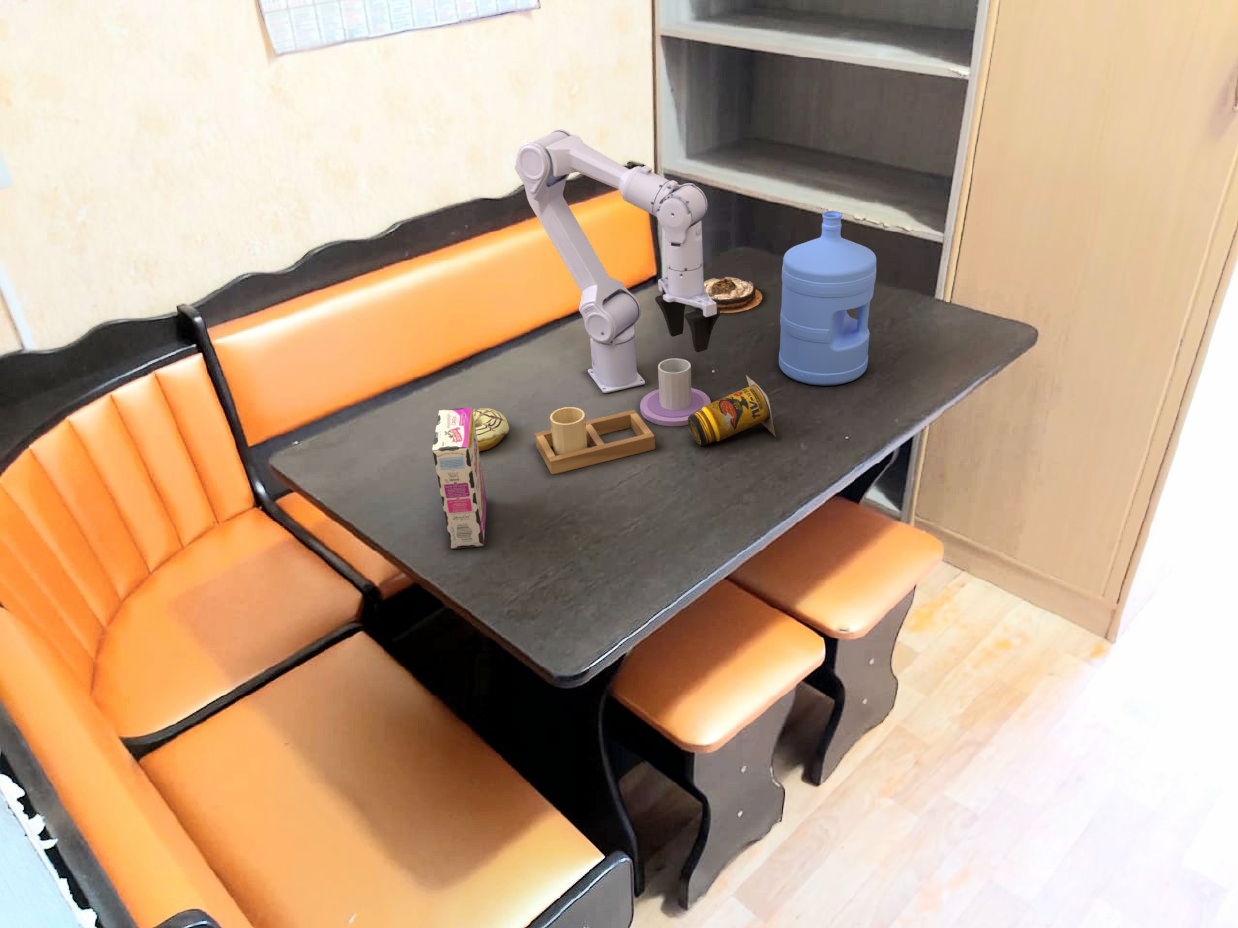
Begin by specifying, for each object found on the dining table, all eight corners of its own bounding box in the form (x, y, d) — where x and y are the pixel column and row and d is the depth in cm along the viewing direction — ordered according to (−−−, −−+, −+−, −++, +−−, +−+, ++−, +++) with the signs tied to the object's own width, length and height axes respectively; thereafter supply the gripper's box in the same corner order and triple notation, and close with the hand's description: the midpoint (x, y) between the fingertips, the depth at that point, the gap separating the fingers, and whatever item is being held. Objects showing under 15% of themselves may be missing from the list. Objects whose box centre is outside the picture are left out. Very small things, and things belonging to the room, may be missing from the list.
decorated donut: (522, 435, 152) (519, 416, 150) (472, 464, 146) (468, 444, 144) (481, 416, 159) (478, 397, 156) (431, 443, 152) (427, 423, 150)
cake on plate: (735, 319, 185) (736, 299, 183) (676, 303, 194) (675, 284, 191) (775, 293, 194) (775, 275, 192) (716, 280, 203) (716, 262, 200)
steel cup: (654, 399, 158) (653, 362, 154) (683, 392, 159) (682, 355, 155) (666, 413, 153) (665, 376, 149) (696, 406, 155) (695, 369, 151)
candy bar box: (486, 547, 128) (468, 447, 119) (450, 550, 128) (429, 451, 119) (489, 500, 137) (472, 405, 128) (455, 504, 137) (436, 408, 128)
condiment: (767, 394, 142) (697, 424, 140) (776, 437, 147) (709, 467, 145) (747, 374, 148) (680, 403, 146) (756, 416, 153) (691, 445, 151)
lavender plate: (630, 400, 160) (629, 394, 159) (693, 385, 163) (693, 379, 162) (655, 432, 150) (655, 426, 150) (722, 416, 153) (722, 410, 153)
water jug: (769, 381, 162) (773, 227, 147) (789, 343, 174) (795, 197, 159) (858, 393, 157) (873, 233, 142) (873, 353, 169) (888, 202, 154)
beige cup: (550, 449, 148) (545, 411, 144) (582, 441, 150) (578, 404, 146) (560, 465, 144) (555, 427, 140) (592, 457, 145) (589, 419, 141)
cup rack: (536, 446, 149) (534, 433, 148) (635, 422, 154) (634, 409, 152) (551, 475, 142) (550, 461, 141) (655, 449, 146) (654, 435, 145)
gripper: (640, 258, 151) (646, 334, 158) (688, 284, 140) (692, 364, 147) (677, 248, 153) (680, 323, 161) (726, 272, 142) (728, 352, 150)
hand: (688, 342), depth 154 cm, fingers open, 7 cm apart
